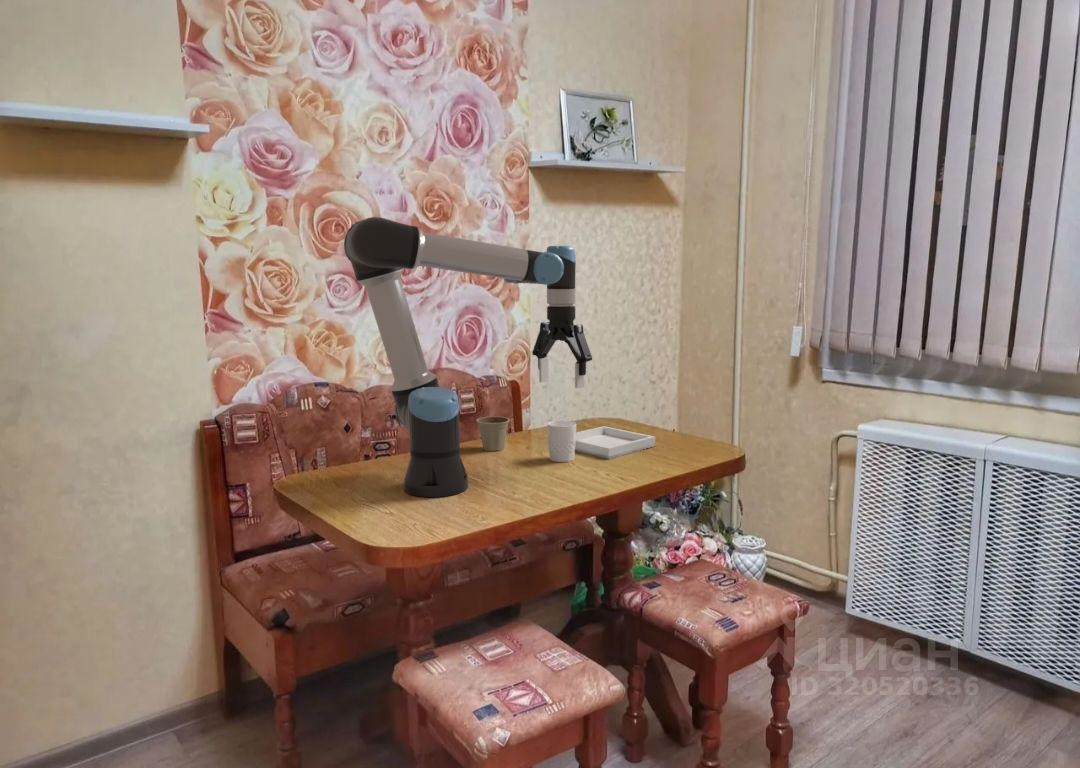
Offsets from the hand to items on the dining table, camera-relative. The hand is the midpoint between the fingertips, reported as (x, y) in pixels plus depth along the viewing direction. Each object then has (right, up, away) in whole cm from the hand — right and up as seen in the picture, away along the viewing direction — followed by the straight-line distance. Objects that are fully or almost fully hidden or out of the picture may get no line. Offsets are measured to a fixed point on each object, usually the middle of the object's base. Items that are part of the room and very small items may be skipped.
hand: (561, 384), depth 200 cm
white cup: (0, -21, +3) cm, 21 cm away
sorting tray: (+13, -18, +16) cm, 28 cm away
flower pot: (-19, -19, +15) cm, 31 cm away
